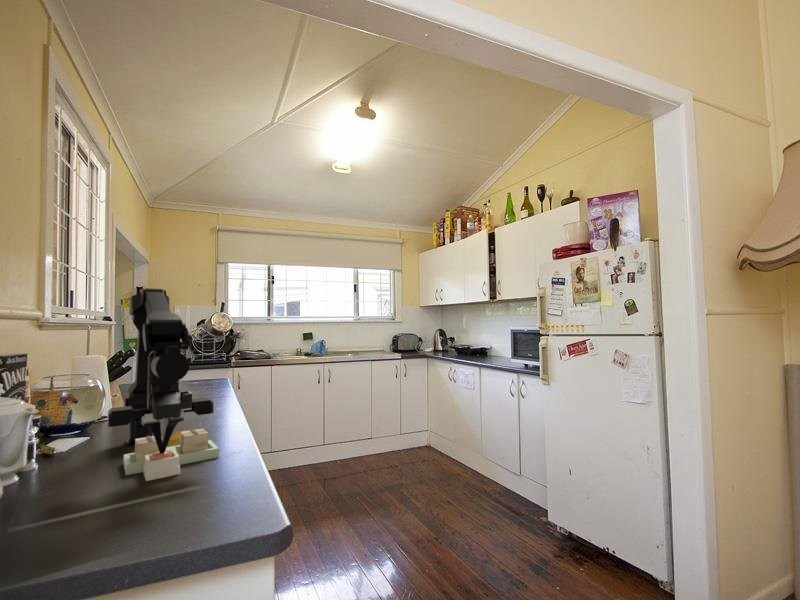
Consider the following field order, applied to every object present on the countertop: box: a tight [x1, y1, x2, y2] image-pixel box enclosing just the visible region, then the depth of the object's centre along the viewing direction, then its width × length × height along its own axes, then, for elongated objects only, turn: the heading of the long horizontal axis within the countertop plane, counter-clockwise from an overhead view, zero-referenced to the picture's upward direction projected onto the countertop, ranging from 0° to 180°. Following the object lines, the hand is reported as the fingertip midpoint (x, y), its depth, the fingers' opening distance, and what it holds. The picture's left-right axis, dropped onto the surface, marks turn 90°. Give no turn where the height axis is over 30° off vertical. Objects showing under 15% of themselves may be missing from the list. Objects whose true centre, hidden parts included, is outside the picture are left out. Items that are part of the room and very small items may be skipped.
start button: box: [152, 450, 172, 461], centre depth 84 cm, size 4×4×2 cm
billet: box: [180, 428, 209, 454], centre depth 95 cm, size 5×5×6 cm
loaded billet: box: [134, 435, 163, 462], centre depth 90 cm, size 5×5×6 cm
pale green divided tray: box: [122, 439, 220, 476], centre depth 93 cm, size 9×18×2 cm, turn 127°
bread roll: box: [167, 429, 191, 447], centre depth 105 cm, size 8×9×4 cm
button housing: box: [142, 450, 181, 482], centre depth 84 cm, size 6×6×4 cm
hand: (162, 452), depth 85 cm, fingers closed, pressing on start button
